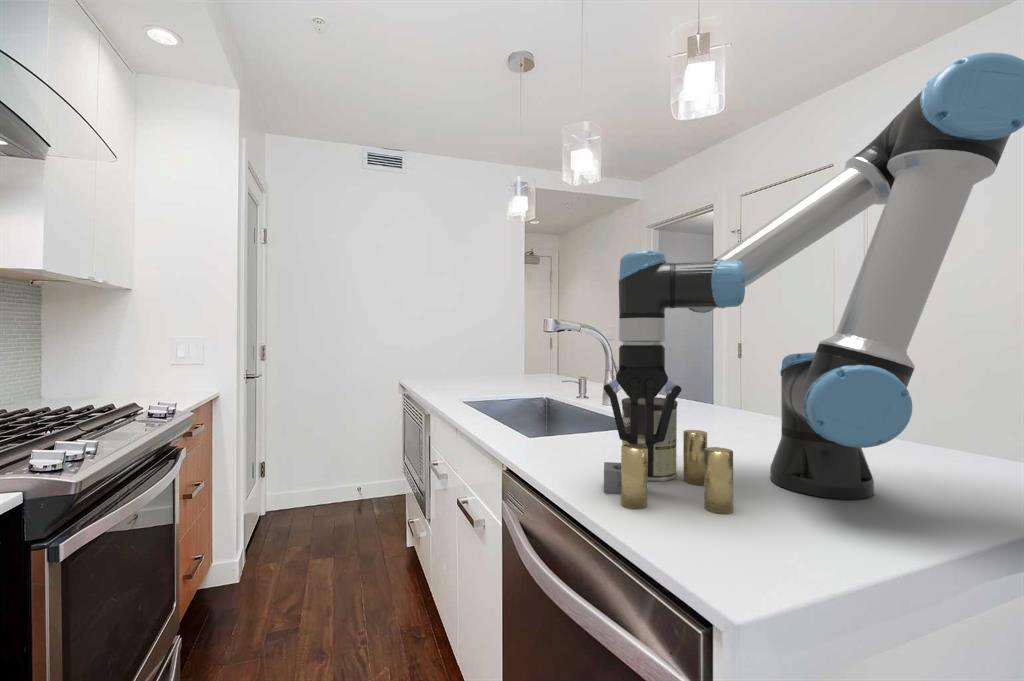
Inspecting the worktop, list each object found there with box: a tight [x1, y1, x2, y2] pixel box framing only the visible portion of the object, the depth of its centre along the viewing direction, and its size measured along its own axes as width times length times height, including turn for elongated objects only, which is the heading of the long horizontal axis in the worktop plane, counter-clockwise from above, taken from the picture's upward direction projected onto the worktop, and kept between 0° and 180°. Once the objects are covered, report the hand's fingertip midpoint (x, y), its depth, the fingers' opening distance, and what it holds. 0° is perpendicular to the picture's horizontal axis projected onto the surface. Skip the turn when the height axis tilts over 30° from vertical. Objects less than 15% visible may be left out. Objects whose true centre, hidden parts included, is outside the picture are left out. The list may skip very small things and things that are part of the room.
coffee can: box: [621, 396, 679, 482], centre depth 89 cm, size 10×10×14 cm
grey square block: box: [603, 461, 621, 496], centre depth 80 cm, size 6×6×4 cm
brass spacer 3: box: [703, 446, 734, 515], centre depth 71 cm, size 4×4×9 cm
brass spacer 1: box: [620, 444, 648, 510], centre depth 73 cm, size 4×4×9 cm
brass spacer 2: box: [682, 429, 708, 486], centre depth 84 cm, size 4×4×9 cm
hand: (641, 481), depth 79 cm, fingers closed
